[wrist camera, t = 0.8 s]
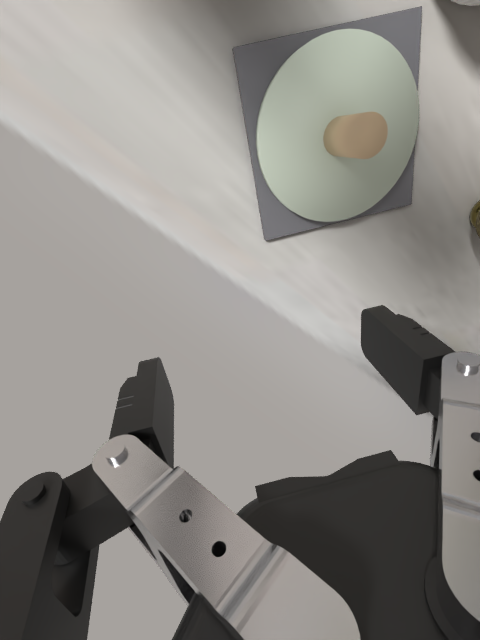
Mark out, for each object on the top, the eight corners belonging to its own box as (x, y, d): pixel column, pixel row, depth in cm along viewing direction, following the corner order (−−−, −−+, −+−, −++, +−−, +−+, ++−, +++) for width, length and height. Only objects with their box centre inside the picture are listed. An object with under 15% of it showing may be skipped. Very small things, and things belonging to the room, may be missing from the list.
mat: (232, 49, 27) (233, 47, 27) (417, 8, 28) (421, 6, 28) (264, 239, 35) (265, 240, 35) (408, 203, 36) (411, 204, 36)
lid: (240, 53, 27) (257, 32, 22) (415, 15, 28) (473, -15, 23) (269, 234, 35) (286, 252, 29) (407, 200, 35) (449, 211, 30)
